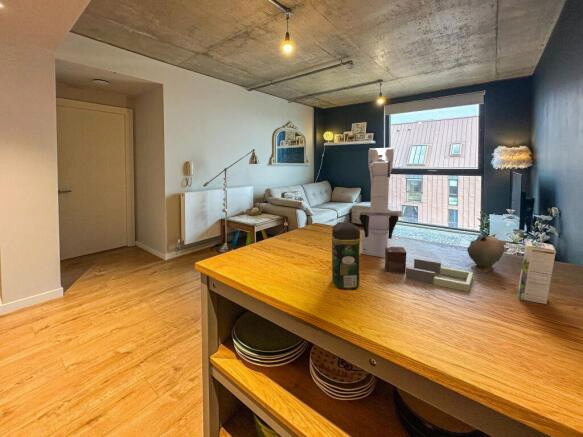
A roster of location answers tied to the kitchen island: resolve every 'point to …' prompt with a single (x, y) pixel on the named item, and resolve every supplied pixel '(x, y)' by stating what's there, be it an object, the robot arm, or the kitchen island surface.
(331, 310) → the kitchen island surface
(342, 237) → the coffee jar
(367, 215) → the robot arm
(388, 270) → the box
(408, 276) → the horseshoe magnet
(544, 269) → the syrup box
